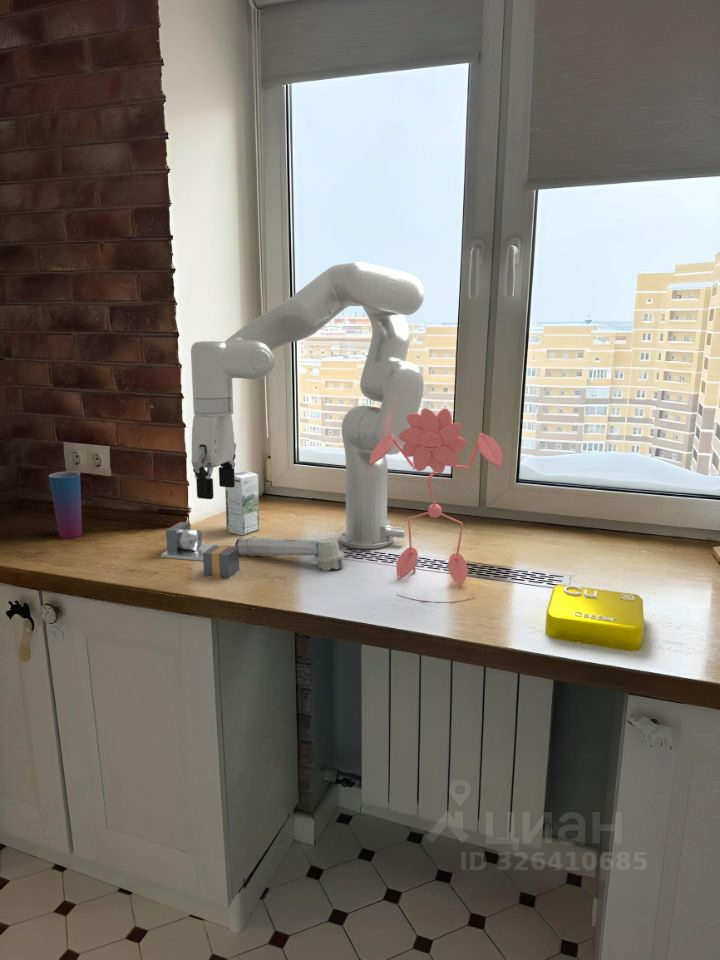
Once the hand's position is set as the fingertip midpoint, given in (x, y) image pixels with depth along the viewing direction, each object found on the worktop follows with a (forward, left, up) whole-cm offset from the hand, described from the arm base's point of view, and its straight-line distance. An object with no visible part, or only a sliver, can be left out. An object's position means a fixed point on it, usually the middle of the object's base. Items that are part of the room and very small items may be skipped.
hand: (216, 492), depth 134 cm
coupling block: (0, 0, -17) cm, 17 cm away
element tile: (-72, +7, -18) cm, 75 cm away
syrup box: (+7, -27, -17) cm, 33 cm away
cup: (+46, -14, -17) cm, 51 cm away
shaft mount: (+9, -10, -17) cm, 22 cm away
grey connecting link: (-11, -10, -18) cm, 23 cm away
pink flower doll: (-42, -3, -17) cm, 46 cm away
